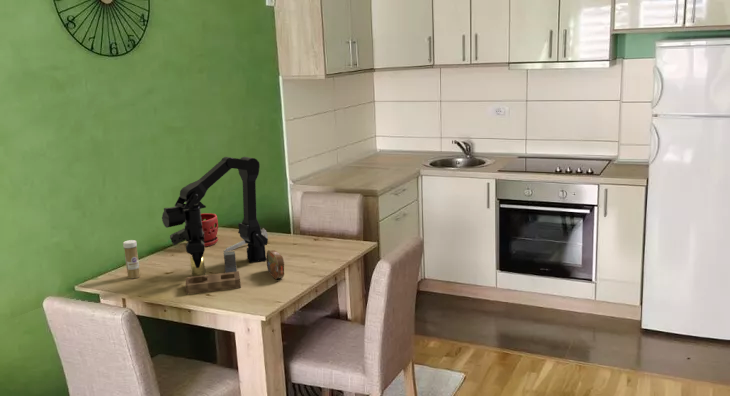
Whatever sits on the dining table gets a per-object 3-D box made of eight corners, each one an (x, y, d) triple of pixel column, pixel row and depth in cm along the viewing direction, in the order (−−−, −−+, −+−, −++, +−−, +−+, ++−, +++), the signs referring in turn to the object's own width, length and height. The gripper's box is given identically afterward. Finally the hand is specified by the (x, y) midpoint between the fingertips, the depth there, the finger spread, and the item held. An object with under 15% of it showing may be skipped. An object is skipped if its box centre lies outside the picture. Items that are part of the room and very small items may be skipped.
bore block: (239, 279, 240) (238, 271, 239) (240, 287, 231) (240, 279, 230) (186, 285, 236) (186, 277, 235) (186, 294, 227) (185, 285, 226)
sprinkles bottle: (133, 279, 245) (128, 243, 242) (124, 277, 247) (120, 242, 244) (143, 275, 248) (138, 240, 245) (135, 274, 251) (130, 239, 248)
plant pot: (190, 241, 292) (187, 214, 289) (221, 239, 292) (219, 212, 290) (185, 249, 279) (182, 221, 276) (217, 247, 280) (214, 219, 277)
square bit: (236, 269, 251) (234, 251, 249) (236, 272, 247) (235, 254, 246) (225, 270, 250) (223, 252, 249) (225, 273, 246) (223, 255, 245)
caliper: (266, 241, 286) (265, 227, 285) (268, 242, 285) (266, 227, 284) (223, 252, 274) (221, 237, 272) (224, 252, 273) (223, 237, 272)
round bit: (205, 272, 249) (203, 254, 247) (205, 276, 244) (203, 258, 243) (192, 274, 248) (190, 255, 246) (191, 278, 243) (189, 259, 242)
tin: (266, 270, 249) (264, 247, 247) (274, 268, 250) (273, 246, 248) (278, 282, 235) (276, 258, 233) (286, 280, 236) (285, 257, 234)
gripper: (171, 218, 249) (175, 258, 252) (168, 230, 231) (173, 274, 235) (202, 215, 251) (206, 255, 255) (202, 227, 234) (206, 270, 237)
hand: (197, 263), depth 245 cm, fingers open, 9 cm apart
